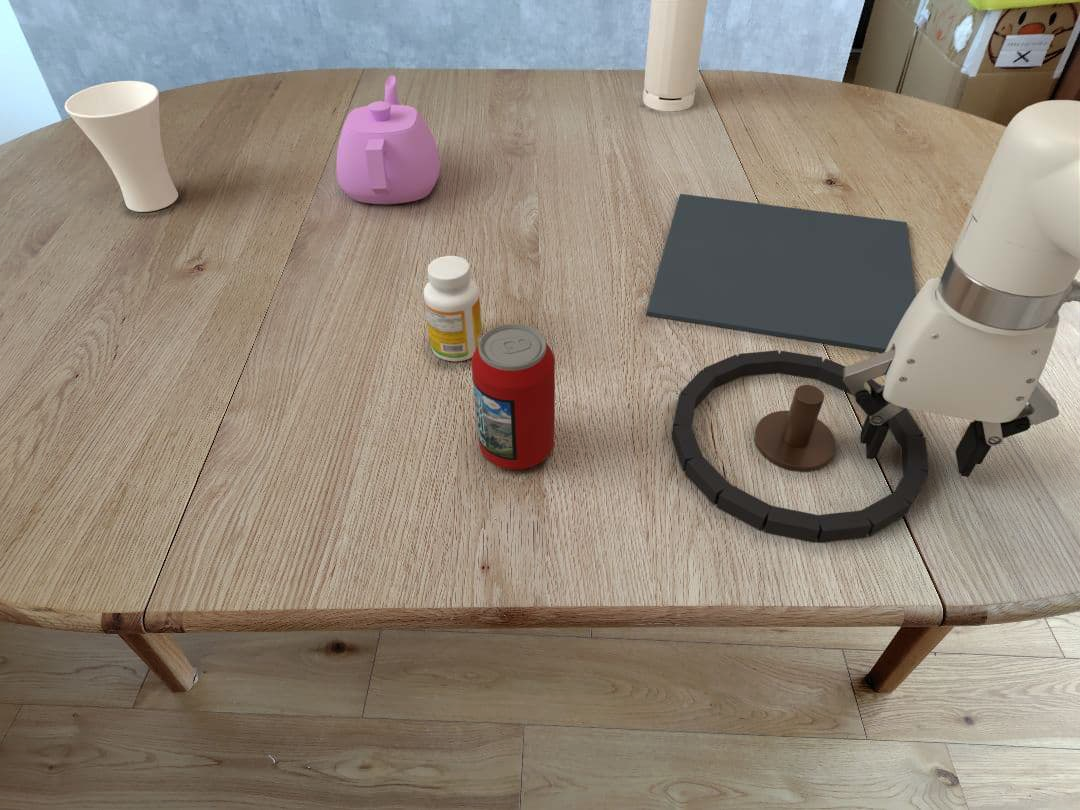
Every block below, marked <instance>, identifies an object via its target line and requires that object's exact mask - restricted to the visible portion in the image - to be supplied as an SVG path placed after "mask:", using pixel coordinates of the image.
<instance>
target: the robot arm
mask: <svg viewBox="0 0 1080 810" xmlns="http://www.w3.org/2000/svg"><path fill="white" fill-rule="evenodd" d="M964 221H965V222H964V224H963V226H962V229H961V231H960V233H959V236H958V238H957V241H956V243H955V245H954V247H953V250H952V251H951V254H950V256H949V259H948V261H947V263H946V265H945V267H944V270H943V272H942V274H941V277H931V278H929V279H928V280H927V281H926V282H925V283H924V284H923V285H922V287H921V289H920V290H919V291H918V293H916V297H915V298H914V300H913V301H912V303H911V305H910V306H909V308H908V309H907V311H906V313H905V314H904V316H903V318H902V320H901V321H900V323H899V325H898V327H897V329H896V330H895V332H894V334H893V336H892V338H891V340H890V342H889V344H888V346H887V348H886V350H885V352H884V353H882V352H881V353H879V354H876V355H874V356H871V357H869V358H866V359H864V360H860V361H858V362H855V363H853V364H850V365H847V366H846V367H845V368H844V369H843V382H844V384H845V385H846V386H847V388H848V389H849V391H850V392H851V393H852V394H851V395H853V397H854V398H855V402H856V404H857V405H858V406H859V407H860V408H861V409H862V411H863V412H864V413H865V414H866V418H865V420H864V423H863V424H862V427H861V430H860V435H859V442H860V444H864V445H865V456H866V459H867V460H874V459H875V460H876V459H877V458H878V455H879V453H880V451H881V448H882V446H883V444H884V442H885V439H886V437H887V436H888V433H889V430H890V429H889V424H888V420H889V419H891V418H892V417H893V416H895V415H896V414H898V413H899V412H900V411H902V410H903V409H904V408H907V410H913V411H917V412H918V411H919V412H924V413H929V414H935V415H941V416H946V417H952V418H958V419H964V420H970V421H971V422H970V423H969V424H968V427H967V428H966V430H965V432H964V434H963V435H962V437H961V439H960V441H959V443H958V445H957V446H956V448H955V457H956V458H955V459H956V464H957V471H958V474H959V475H960V476H961V477H964V478H969V477H970V476H971V474H972V472H973V471H974V469H975V468H976V466H977V465H979V466H980V465H982V464H983V462H984V460H985V459H986V457H987V455H988V453H989V452H990V451H991V448H992V447H997V446H1001V445H1002V444H1003V442H1004V439H1006V438H1008V437H1012V436H1015V435H1018V434H1021V433H1024V432H1026V431H1028V430H1030V429H1031V426H1033V425H1034V426H1037V425H1040V424H1042V423H1045V422H1048V421H1051V420H1052V419H1055V418H1057V417H1058V416H1059V415H1060V411H1059V408H1058V404H1057V400H1055V398H1053V396H1052V395H1051V394H1050V392H1049V391H1048V390H1047V389H1046V388H1045V387H1044V385H1042V384H1041V382H1040V378H1041V376H1042V374H1043V371H1044V369H1045V367H1046V364H1047V362H1048V359H1049V356H1050V353H1051V350H1052V347H1053V345H1054V341H1055V337H1056V334H1057V331H1058V327H1059V322H1060V315H1059V311H1060V309H1061V308H1062V307H1063V305H1064V304H1066V303H1071V302H1077V303H1080V281H1078V280H1077V279H1075V277H1076V276H1077V274H1078V272H1079V270H1080V100H1070V99H1051V100H1044V101H1040V102H1039V101H1038V102H1036V103H1033V104H1030V105H1028V106H1026V107H1025V108H1023V109H1022V110H1020V111H1019V112H1018V113H1016V114H1015V115H1014V116H1013V118H1012V119H1011V120H1010V121H1009V123H1008V124H1007V126H1006V128H1005V130H1004V132H1003V134H1002V136H1001V138H1000V140H999V143H998V145H997V147H996V150H995V153H994V154H993V156H992V159H991V161H990V164H989V165H988V168H987V171H986V173H985V175H984V177H983V180H982V182H981V184H980V186H979V188H978V191H977V193H976V196H975V198H974V201H973V202H972V205H971V207H970V210H969V212H968V215H967V217H966V219H965V220H964ZM883 376H885V380H884V382H883V383H884V384H883V385H881V386H882V387H880V388H879V389H878V390H876V391H875V389H874V388H873V387H872V386H871V385H870V383H868V382H867V381H869V380H875V379H877V378H880V377H883ZM1027 403H1028V404H1027Z"/></svg>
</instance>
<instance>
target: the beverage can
mask: <svg viewBox="0 0 1080 810" xmlns="http://www.w3.org/2000/svg"><path fill="white" fill-rule="evenodd" d="M482 335H483V336H482V338H481V339H480V342H479V345H478V347H477V349H476V350H475V352H474V354H473V357H471V375H472V385H473V397H474V399H473V400H474V409H475V420H476V427H477V436H478V446H479V450H480V452H481V454H482V456H483V457H484V458H485V459H486V460H487V461H488V462H490V463H491V464H492V465H495V466H497V467H499V468H502V469H507V470H524V469H529V468H533V467H534V466H537V465H539V464H540V463H542V462H543V461H544V460H546V459H547V458H548V457H549V455H550V454H551V453H552V451H553V448H554V445H555V420H556V419H555V415H556V414H555V406H556V391H555V390H556V369H555V368H556V366H555V365H556V360H555V359H556V358H555V354H554V352H553V350H552V348H550V346H549V344H548V343H547V341H546V339H545V337H544V335H543V333H542V332H540V331H539V330H538V329H536V328H535V327H533V326H529V325H526V324H523V323H522V324H521V323H505V324H501V325H497V326H494V327H492V328H490V329H489V330H487V331H486V332H484V334H482Z"/></svg>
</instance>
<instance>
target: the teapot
mask: <svg viewBox="0 0 1080 810" xmlns="http://www.w3.org/2000/svg"><path fill="white" fill-rule="evenodd" d="M440 172H441V162H440V156H439V151H438V148H437V144H436V141H435V138H434V135H433V133H432V132H431V130H430V128H429V125H428V124H427V123H426V121H425V119H424V118H423V115H421V114H420V112H419V111H418V109H416V108H415V107H413V106H409V105H405V104H400V101H399V97H398V90H397V78H396V76H395V75H389V76H388V77H387V78H386V81H385V85H384V100H377V101H374V102H373V101H372V102H371V103H369V104H368V105H364V106H359V107H356V108H354V109H352V110H351V111H350V112H348V115H347V116H346V118H345V121H344V123H343V126H342V130H341V132H340V136H339V140H338V144H337V150H336V179H337V183H338V185H339V187H340V189H341V190H342V191H343V192H344V193H345V194H346V195H347V196H348V197H349V198H350V199H352V200H353V201H356V202H360V203H365V204H372V205H373V204H374V205H395V204H396V205H397V204H405V203H412V202H415V201H418V200H422V199H424V198H426V197H428V196H429V195H430V194H431V192H432V190H433V189H434V187H435V185H436V183H437V181H438V178H439V176H440Z"/></svg>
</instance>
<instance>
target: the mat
mask: <svg viewBox="0 0 1080 810" xmlns="http://www.w3.org/2000/svg"><path fill="white" fill-rule="evenodd" d="M908 229H909V228H908V222H907V221H901V220H895V219H894V220H893V219H885V218H877V217H869V216H861V215H853V214H845V213H838V212H831V211H829V212H828V211H821V210H814V209H813V210H812V209H805V208H798V207H789V206H781V205H773V204H766V203H757V202H750V201H741V200H734V199H725V198H719V197H718V198H717V197H710V196H703V195H694V194H686V193H679V196H678V200H677V203H676V207H675V211H674V214H673V218H672V221H671V225H670V228H669V231H668V235H667V239H666V242H665V246H664V249H663V252H662V257H661V259H660V262H659V266H658V270H657V274H656V278H655V281H654V284H653V287H652V290H651V291H652V292H651V295H650V298H649V302H648V305H647V309H646V314H645V315H646V316H648V317H653V318H659V319H667V320H672V321H680V322H686V323H693V324H698V325H704V326H705V325H706V326H711V327H717V328H723V329H730V330H736V331H742V332H750V333H755V334H762V335H769V336H775V337H781V338H787V339H793V340H800V341H807V342H812V343H819V344H825V345H831V346H838V347H845V348H849V349H850V348H851V349H857V350H862V351H869V352H877V353H881V354H882V353H884V352H885V350H886V348H887V346H888V344H889V342H890V340H891V338H892V336H893V334H894V332H895V330H896V329H897V327H898V325H899V323H900V321H901V320H902V318H903V316H904V314H905V313H906V311H907V309H908V308H909V306H910V305H911V303H912V301H913V300H914V298H915V297H916V295H917V291H916V283H915V276H914V270H913V269H914V267H913V261H912V252H911V244H910V237H909V230H908Z"/></svg>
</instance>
